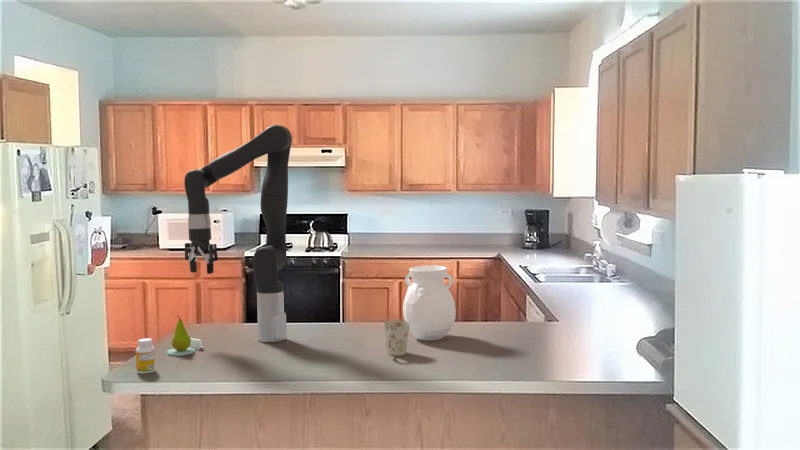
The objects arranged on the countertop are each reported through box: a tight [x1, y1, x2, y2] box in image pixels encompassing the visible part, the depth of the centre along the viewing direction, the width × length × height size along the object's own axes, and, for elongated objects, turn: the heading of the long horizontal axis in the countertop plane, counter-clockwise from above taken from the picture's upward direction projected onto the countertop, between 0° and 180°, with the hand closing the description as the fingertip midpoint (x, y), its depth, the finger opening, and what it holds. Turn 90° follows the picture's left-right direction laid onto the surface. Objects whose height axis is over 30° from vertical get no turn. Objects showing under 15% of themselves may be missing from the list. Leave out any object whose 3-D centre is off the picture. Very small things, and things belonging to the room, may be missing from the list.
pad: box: [166, 347, 196, 357], centre depth 250 cm, size 9×9×1 cm
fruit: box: [171, 314, 192, 351], centre depth 250 cm, size 6×6×12 cm
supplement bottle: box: [135, 337, 156, 375], centre depth 227 cm, size 5×5×10 cm
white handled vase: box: [402, 264, 457, 342], centre depth 266 cm, size 19×18×25 cm
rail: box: [189, 337, 205, 351], centre depth 257 cm, size 10×2×3 cm, turn 54°
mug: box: [383, 320, 410, 357], centre depth 243 cm, size 8×13×10 cm, turn 161°
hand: (201, 272), depth 265 cm, fingers open, 8 cm apart
